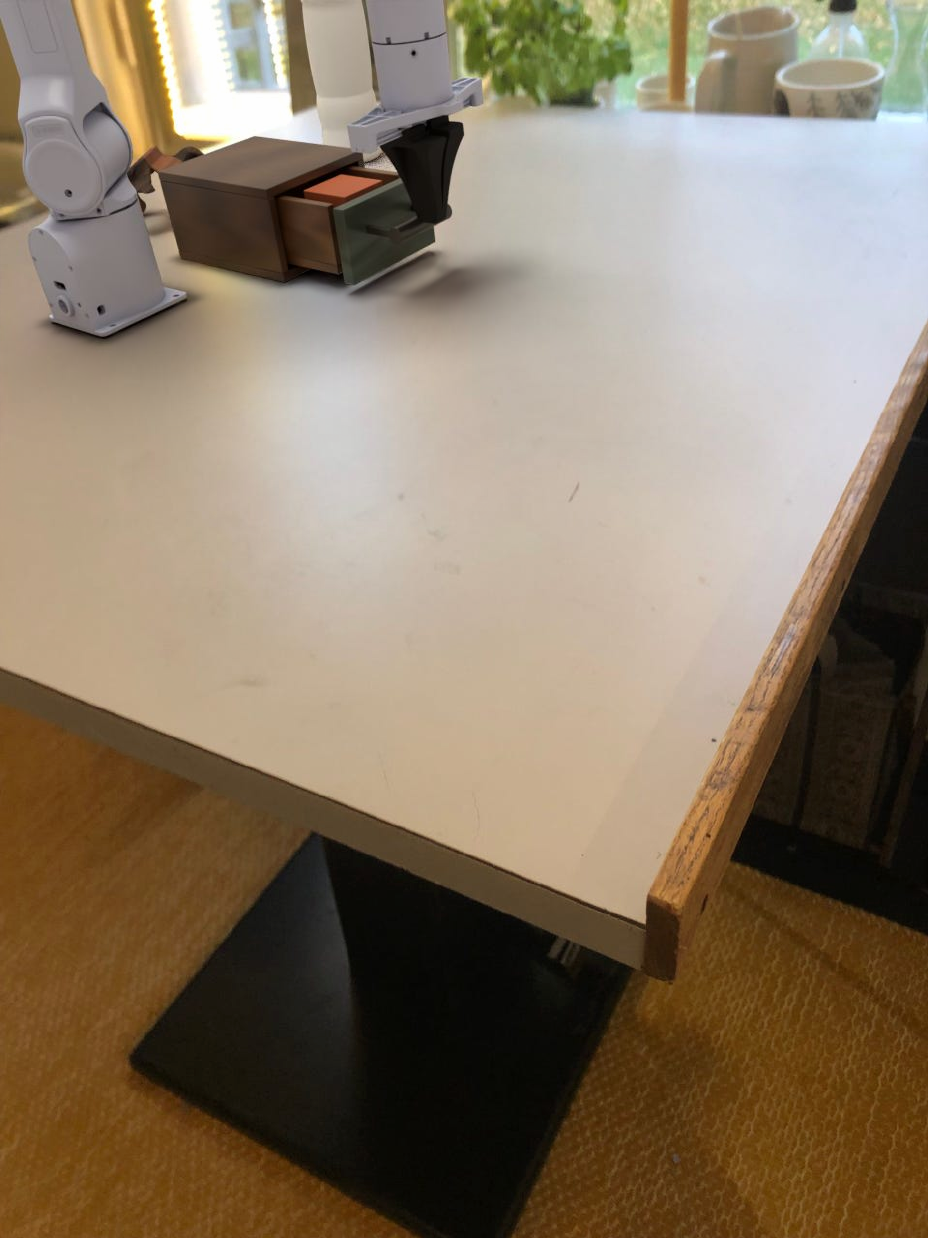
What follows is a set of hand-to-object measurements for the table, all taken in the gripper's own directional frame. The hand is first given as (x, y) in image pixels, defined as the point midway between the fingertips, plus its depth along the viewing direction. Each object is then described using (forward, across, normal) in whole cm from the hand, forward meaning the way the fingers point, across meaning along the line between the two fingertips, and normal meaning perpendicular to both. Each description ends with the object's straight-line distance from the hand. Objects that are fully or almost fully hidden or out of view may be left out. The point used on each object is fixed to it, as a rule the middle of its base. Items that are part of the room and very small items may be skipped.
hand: (432, 219), depth 83 cm
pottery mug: (+5, +2, +38) cm, 39 cm away
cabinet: (+5, 0, +20) cm, 21 cm away
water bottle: (+5, +27, +34) cm, 44 cm away
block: (+3, 0, +10) cm, 10 cm away
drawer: (+4, 0, +9) cm, 10 cm away
